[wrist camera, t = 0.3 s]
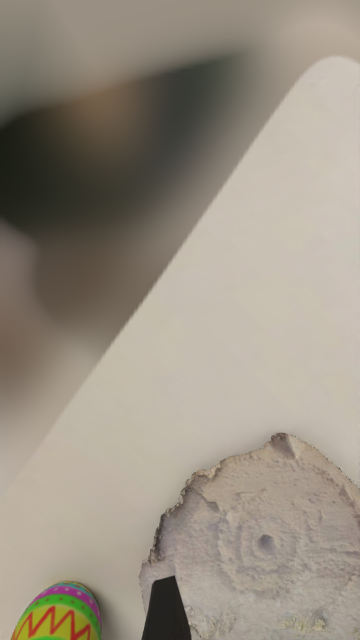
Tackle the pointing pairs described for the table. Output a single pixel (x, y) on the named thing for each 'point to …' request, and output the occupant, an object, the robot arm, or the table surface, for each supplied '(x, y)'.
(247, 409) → the table surface
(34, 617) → the egg
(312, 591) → the decorative stone
